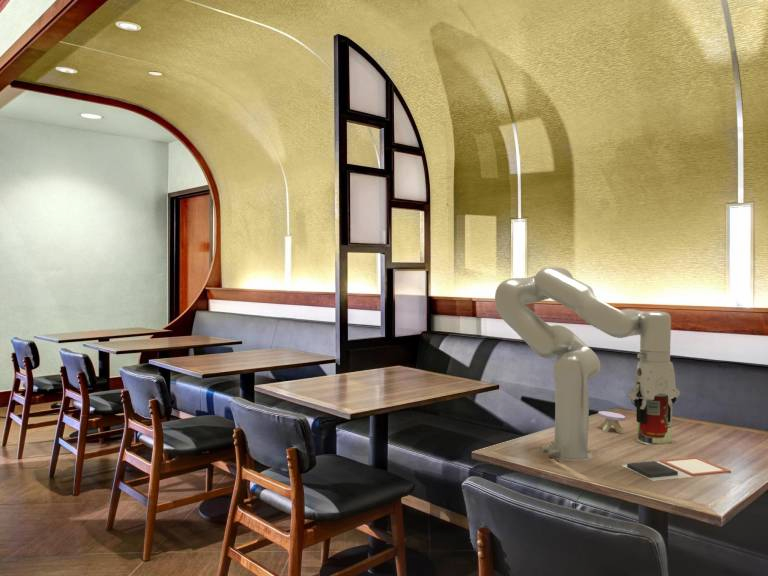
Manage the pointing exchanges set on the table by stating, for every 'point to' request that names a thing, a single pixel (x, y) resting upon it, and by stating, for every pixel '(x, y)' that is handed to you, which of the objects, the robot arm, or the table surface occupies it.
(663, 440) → the coffee can
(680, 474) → the board
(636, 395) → the robot arm
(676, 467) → the red bordered square panel
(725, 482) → the table surface
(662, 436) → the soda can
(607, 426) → the toy table
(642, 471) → the ink pad
